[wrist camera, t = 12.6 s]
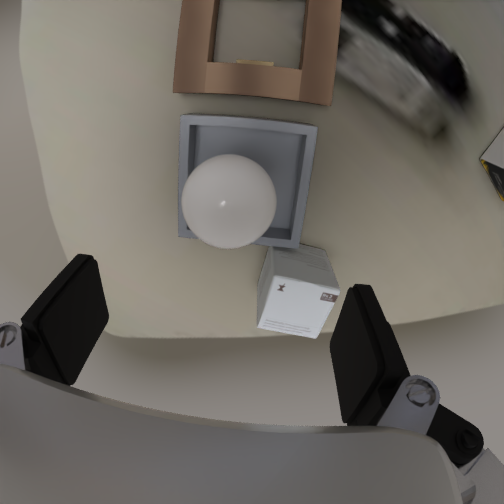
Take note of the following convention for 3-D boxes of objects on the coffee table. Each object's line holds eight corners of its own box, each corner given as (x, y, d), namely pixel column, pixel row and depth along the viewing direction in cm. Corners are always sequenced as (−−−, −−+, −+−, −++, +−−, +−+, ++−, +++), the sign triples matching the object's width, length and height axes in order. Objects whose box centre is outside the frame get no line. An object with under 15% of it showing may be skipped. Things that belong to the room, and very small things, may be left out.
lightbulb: (286, 183, 27) (299, 233, 17) (230, 218, 29) (213, 283, 19) (247, 126, 25) (235, 142, 15) (190, 166, 27) (148, 206, 17)
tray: (312, 124, 25) (317, 127, 22) (295, 234, 30) (298, 248, 28) (189, 113, 25) (180, 115, 22) (186, 224, 30) (178, 236, 27)
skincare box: (256, 283, 33) (254, 329, 27) (271, 235, 30) (273, 275, 24) (308, 294, 34) (316, 340, 27) (327, 249, 31) (342, 290, 24)
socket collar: (336, -17, 18) (343, -26, 16) (325, 105, 24) (331, 106, 22) (195, -28, 18) (189, -38, 15) (180, 92, 24) (172, 92, 22)
